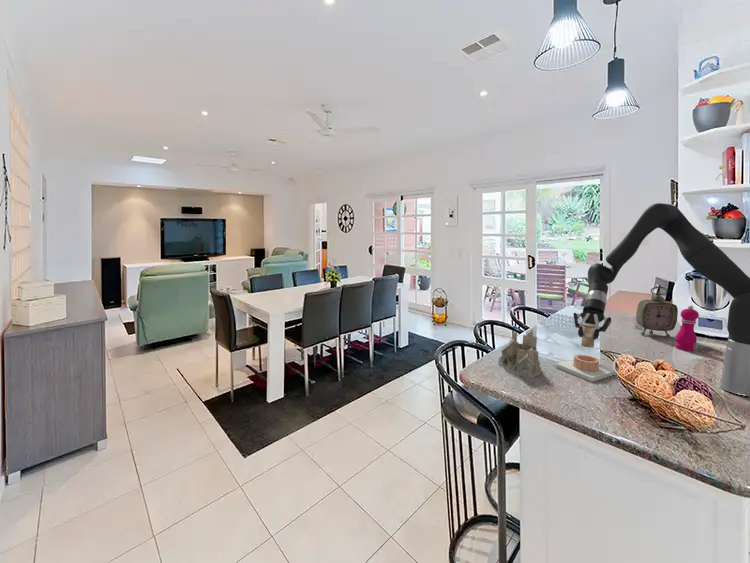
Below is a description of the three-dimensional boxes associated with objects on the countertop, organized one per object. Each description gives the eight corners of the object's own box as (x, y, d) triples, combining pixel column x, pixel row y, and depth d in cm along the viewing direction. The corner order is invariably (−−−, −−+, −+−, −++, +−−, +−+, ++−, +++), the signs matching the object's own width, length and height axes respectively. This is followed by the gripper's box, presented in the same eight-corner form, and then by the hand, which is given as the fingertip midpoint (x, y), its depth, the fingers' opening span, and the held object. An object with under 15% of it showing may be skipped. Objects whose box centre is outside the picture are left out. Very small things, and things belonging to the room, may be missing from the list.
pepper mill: (699, 352, 152) (706, 307, 149) (680, 350, 154) (686, 306, 151) (688, 346, 159) (694, 304, 156) (670, 345, 161) (676, 303, 158)
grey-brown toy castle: (502, 356, 144) (506, 322, 141) (545, 368, 135) (550, 331, 131) (489, 370, 132) (492, 333, 129) (535, 384, 123) (539, 344, 119)
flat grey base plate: (616, 375, 127) (617, 362, 126) (591, 381, 121) (593, 368, 121) (579, 361, 140) (581, 350, 139) (556, 367, 134) (557, 355, 133)
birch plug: (596, 346, 141) (598, 325, 139) (589, 348, 139) (591, 326, 137) (585, 343, 145) (587, 322, 143) (578, 345, 143) (580, 323, 141)
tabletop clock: (639, 336, 175) (646, 287, 171) (632, 331, 184) (638, 284, 180) (674, 338, 171) (681, 288, 167) (665, 333, 180) (671, 286, 176)
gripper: (575, 295, 149) (566, 329, 142) (615, 300, 140) (608, 335, 133) (576, 306, 154) (568, 338, 147) (615, 310, 145) (608, 345, 137)
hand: (587, 337), depth 140 cm, fingers closed on birch plug, 4 cm apart
